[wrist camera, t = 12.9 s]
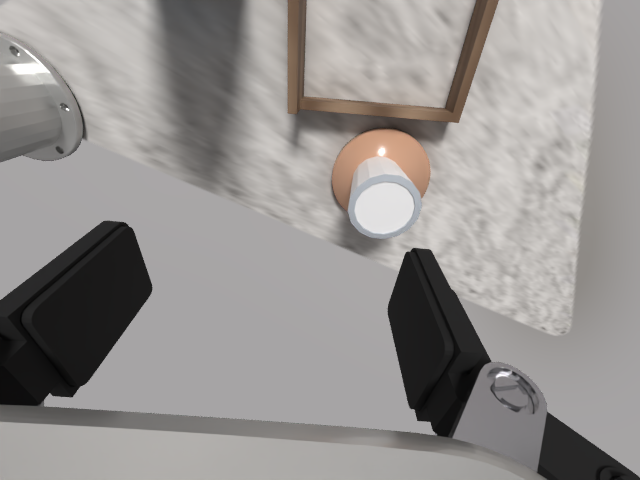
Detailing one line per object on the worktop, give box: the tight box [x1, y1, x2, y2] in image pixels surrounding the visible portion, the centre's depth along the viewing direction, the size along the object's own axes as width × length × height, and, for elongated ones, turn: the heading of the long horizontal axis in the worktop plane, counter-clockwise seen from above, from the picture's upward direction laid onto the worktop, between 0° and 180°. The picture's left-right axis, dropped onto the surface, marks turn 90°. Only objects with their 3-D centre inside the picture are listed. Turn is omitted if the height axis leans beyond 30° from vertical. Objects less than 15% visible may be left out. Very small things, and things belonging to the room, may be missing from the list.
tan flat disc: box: [332, 128, 430, 212], centre depth 32 cm, size 11×11×1 cm
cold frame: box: [288, 0, 499, 123], centre depth 22 cm, size 16×16×5 cm
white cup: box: [348, 156, 422, 239], centre depth 29 cm, size 7×7×7 cm
